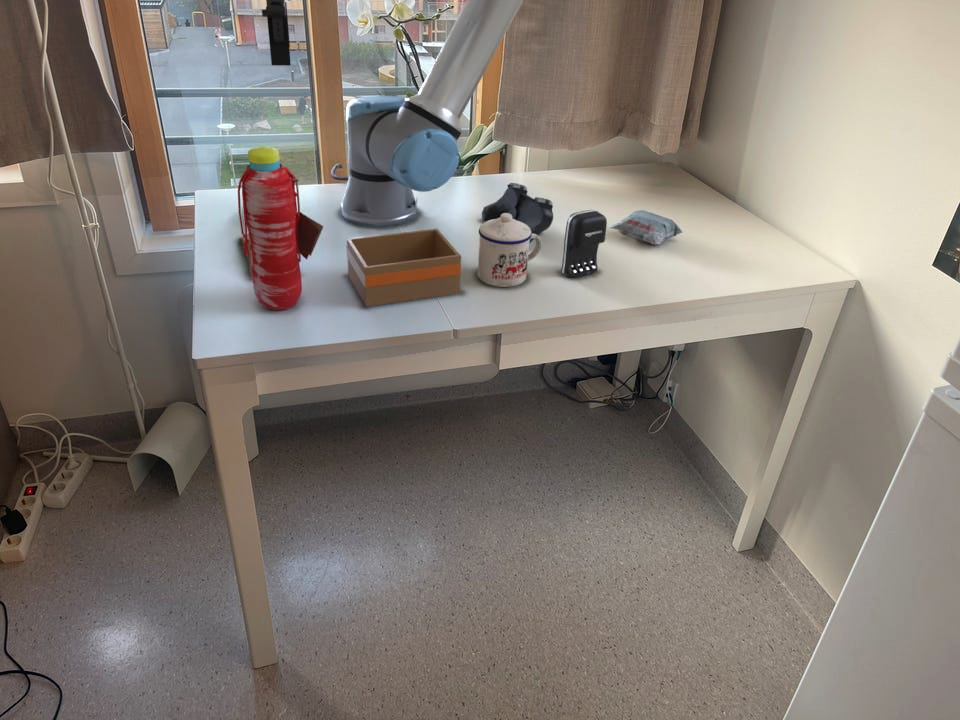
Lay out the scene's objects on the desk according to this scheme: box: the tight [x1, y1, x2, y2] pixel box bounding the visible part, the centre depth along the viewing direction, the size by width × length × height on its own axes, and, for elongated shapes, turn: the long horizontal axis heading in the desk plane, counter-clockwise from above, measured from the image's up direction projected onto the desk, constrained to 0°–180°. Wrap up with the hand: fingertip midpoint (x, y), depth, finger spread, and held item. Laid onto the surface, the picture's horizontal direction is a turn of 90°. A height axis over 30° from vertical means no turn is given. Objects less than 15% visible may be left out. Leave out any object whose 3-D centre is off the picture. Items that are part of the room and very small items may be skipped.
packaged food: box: [609, 209, 683, 246], centre depth 149 cm, size 9×12×5 cm
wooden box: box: [345, 228, 462, 308], centre depth 126 cm, size 12×16×7 cm
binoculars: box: [481, 182, 554, 244], centre depth 149 cm, size 16×7×10 cm, turn 32°
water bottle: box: [237, 146, 325, 311], centre depth 115 cm, size 12×8×25 cm, turn 121°
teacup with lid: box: [477, 213, 543, 288], centre depth 130 cm, size 12×9×12 cm
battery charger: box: [560, 209, 608, 278], centre depth 132 cm, size 7×4×11 cm, turn 120°
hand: (281, 55), depth 115 cm, fingers open, 13 cm apart
